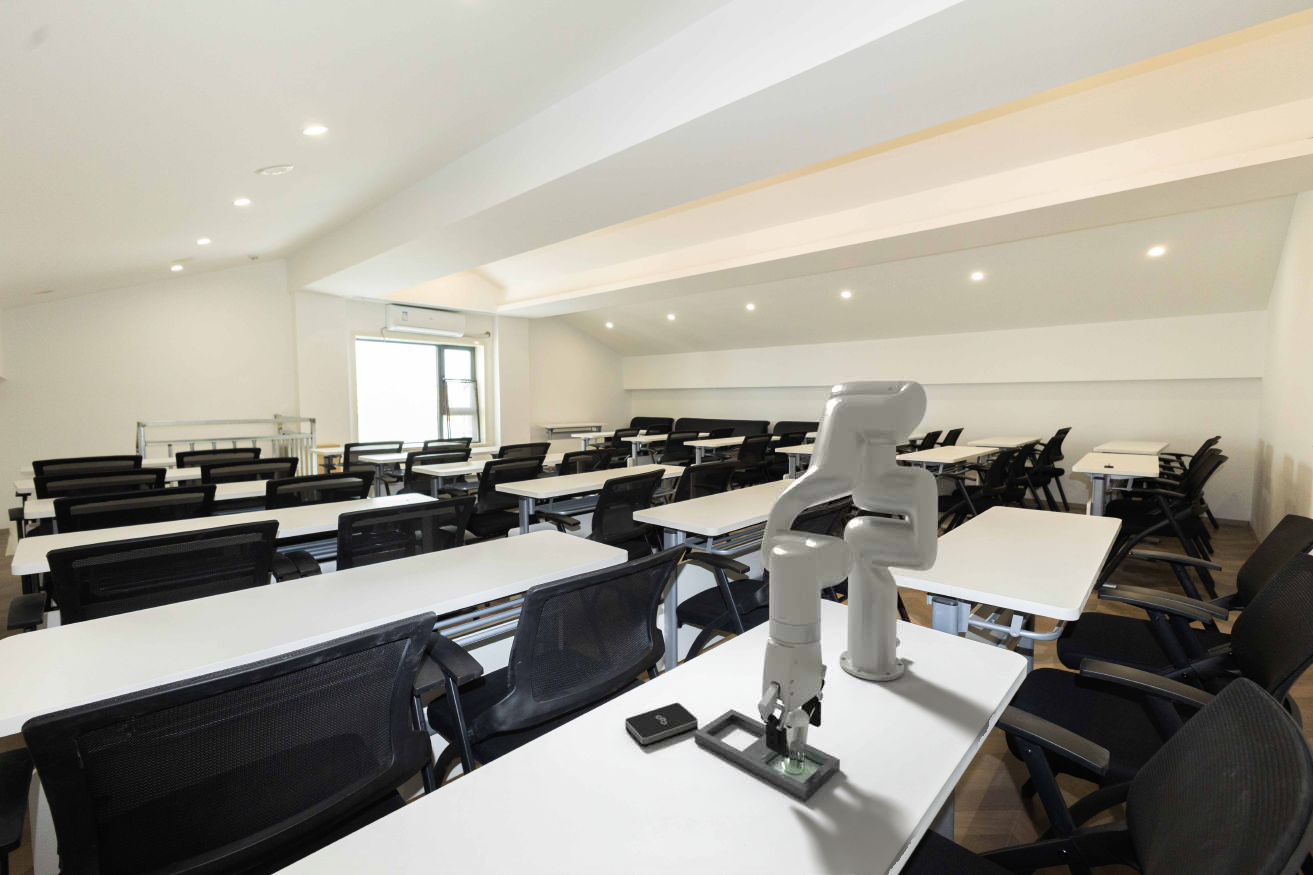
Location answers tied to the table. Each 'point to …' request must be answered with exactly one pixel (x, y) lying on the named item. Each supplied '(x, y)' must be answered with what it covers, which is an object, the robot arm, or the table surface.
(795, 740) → the milkshake
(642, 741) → the external hard drive
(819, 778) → the two-slot gray tray
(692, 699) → the table surface
